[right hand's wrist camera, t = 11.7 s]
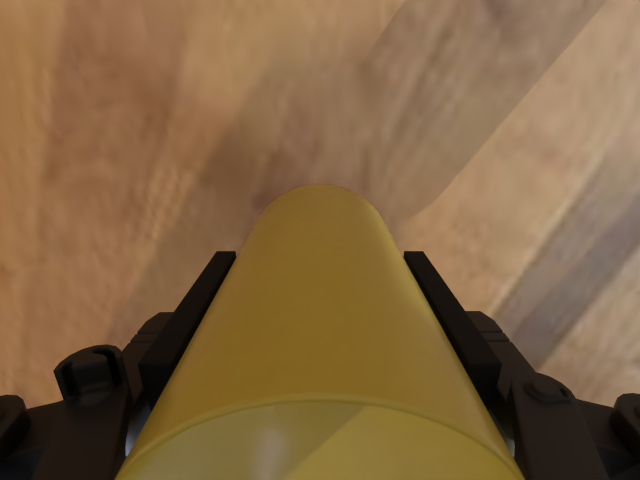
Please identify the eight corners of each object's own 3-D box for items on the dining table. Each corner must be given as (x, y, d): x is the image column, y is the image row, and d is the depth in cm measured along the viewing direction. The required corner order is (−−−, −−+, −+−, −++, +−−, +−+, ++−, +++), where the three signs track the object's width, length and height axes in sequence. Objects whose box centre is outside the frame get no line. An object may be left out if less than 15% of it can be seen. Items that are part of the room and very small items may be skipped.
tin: (332, 152, 15) (370, 297, 4) (416, 263, 17) (612, 581, 6) (220, 242, 17) (4, 541, 5) (309, 334, 19) (293, 697, 7)
